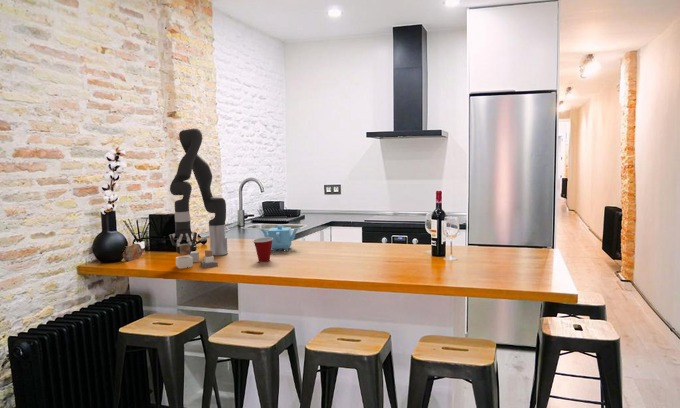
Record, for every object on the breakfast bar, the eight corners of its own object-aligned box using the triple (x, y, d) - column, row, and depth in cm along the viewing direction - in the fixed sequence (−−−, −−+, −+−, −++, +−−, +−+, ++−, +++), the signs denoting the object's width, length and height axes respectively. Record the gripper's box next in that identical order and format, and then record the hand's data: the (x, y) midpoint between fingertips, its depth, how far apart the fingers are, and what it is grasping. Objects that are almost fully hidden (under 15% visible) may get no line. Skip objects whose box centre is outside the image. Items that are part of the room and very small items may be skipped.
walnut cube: (188, 252, 266) (187, 243, 266) (190, 254, 262) (189, 244, 262) (178, 254, 264) (178, 244, 264) (180, 255, 260) (179, 245, 259)
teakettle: (277, 253, 293) (276, 228, 292) (258, 250, 306) (257, 225, 305) (302, 249, 306) (301, 224, 305) (283, 245, 320) (282, 222, 318)
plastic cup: (250, 260, 274) (249, 238, 273) (267, 258, 280) (266, 236, 279) (259, 263, 265) (258, 241, 264) (277, 260, 271) (276, 238, 270)
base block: (189, 264, 268) (189, 255, 268) (193, 267, 262) (192, 257, 261) (176, 266, 265) (175, 257, 264) (179, 268, 258) (178, 259, 258)
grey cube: (197, 260, 281) (196, 251, 280) (199, 261, 276) (198, 252, 276) (187, 261, 278) (187, 252, 278) (189, 262, 274) (189, 253, 274)
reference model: (214, 263, 268) (213, 248, 268) (217, 266, 262) (217, 250, 262) (200, 265, 265) (200, 250, 264) (204, 267, 259) (203, 252, 258)
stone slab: (126, 262, 280) (125, 247, 279) (121, 262, 281) (120, 246, 280) (142, 256, 295) (141, 242, 294) (137, 256, 295) (136, 242, 295)
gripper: (195, 218, 268) (196, 250, 270) (166, 220, 261) (168, 253, 263) (198, 219, 262) (200, 252, 263) (169, 222, 255) (171, 255, 256)
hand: (184, 252), depth 263 cm, fingers closed on walnut cube, 5 cm apart
